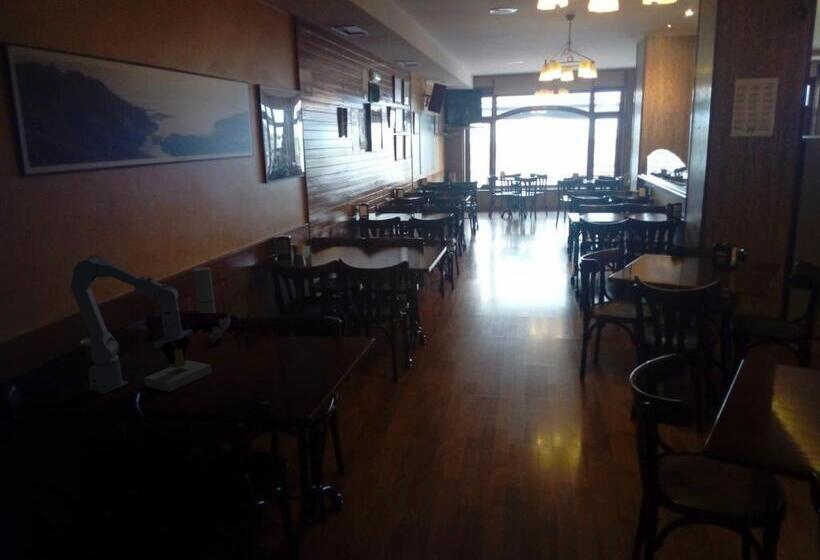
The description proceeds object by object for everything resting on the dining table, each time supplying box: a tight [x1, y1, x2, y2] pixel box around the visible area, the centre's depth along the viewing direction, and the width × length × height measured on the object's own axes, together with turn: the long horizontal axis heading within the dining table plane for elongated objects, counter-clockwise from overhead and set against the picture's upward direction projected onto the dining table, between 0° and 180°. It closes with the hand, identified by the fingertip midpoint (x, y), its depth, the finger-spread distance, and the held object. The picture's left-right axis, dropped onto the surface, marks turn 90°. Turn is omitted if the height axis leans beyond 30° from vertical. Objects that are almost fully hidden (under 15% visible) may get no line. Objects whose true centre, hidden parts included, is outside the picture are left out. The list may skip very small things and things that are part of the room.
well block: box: [143, 359, 213, 393], centre depth 212 cm, size 18×12×3 cm, turn 150°
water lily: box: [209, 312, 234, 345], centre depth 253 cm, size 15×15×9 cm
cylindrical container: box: [192, 266, 217, 314], centre depth 273 cm, size 7×7×25 cm
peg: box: [168, 346, 185, 369], centre depth 211 cm, size 4×4×6 cm
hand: (177, 361), depth 211 cm, fingers closed on peg, 3 cm apart
